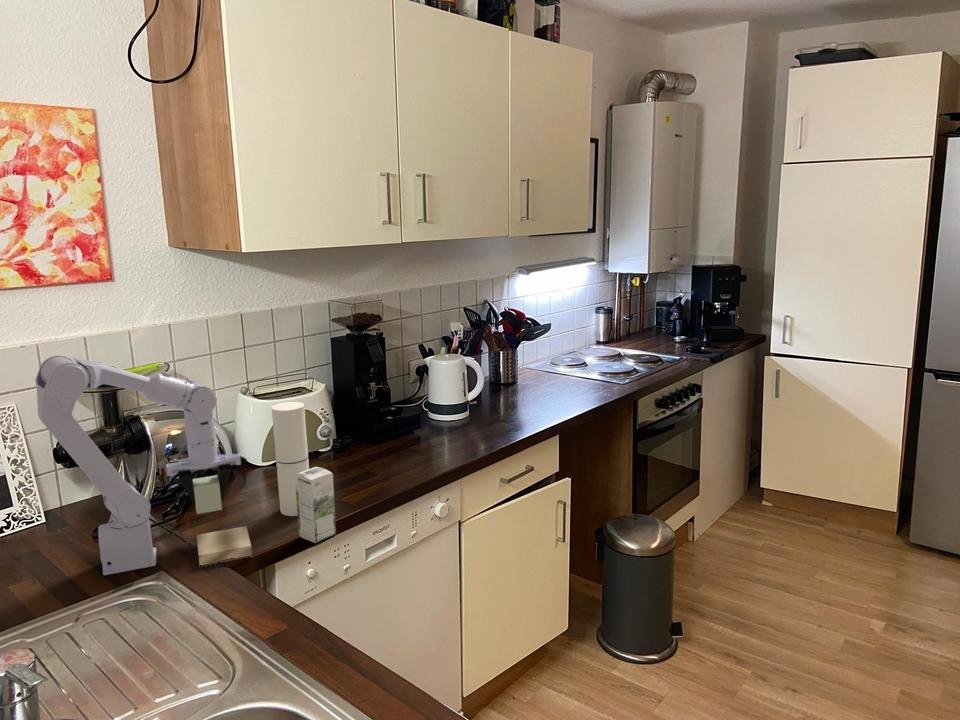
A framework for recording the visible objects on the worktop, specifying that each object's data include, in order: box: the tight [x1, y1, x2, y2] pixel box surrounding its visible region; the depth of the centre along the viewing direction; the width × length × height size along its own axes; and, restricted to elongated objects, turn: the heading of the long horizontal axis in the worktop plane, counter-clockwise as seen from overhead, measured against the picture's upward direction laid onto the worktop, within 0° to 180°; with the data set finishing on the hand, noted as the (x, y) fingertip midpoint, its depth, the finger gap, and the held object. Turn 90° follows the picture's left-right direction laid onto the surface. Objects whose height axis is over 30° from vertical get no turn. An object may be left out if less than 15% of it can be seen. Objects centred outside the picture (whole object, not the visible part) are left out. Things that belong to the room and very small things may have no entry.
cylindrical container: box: [271, 401, 310, 517], centre depth 171 cm, size 7×7×25 cm
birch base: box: [196, 525, 253, 566], centre depth 154 cm, size 10×10×3 cm
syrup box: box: [295, 466, 337, 544], centre depth 159 cm, size 6×6×14 cm
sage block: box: [192, 474, 223, 515], centre depth 159 cm, size 5×5×6 cm
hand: (208, 501), depth 159 cm, fingers closed on sage block, 5 cm apart
